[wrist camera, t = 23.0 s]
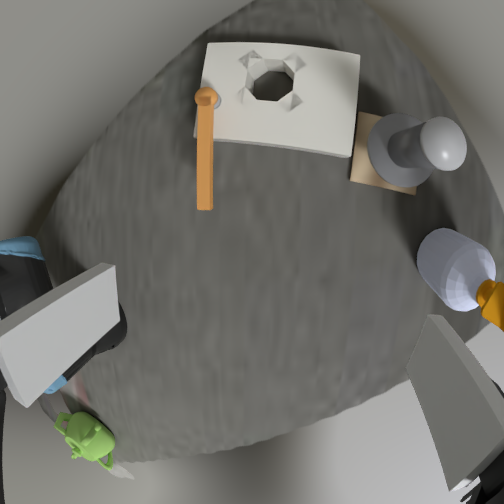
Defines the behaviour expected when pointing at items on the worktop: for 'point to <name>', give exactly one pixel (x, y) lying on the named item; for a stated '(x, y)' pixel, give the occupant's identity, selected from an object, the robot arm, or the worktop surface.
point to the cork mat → (361, 162)
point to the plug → (414, 148)
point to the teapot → (87, 437)
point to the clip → (205, 146)
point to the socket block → (291, 105)
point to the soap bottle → (461, 274)
